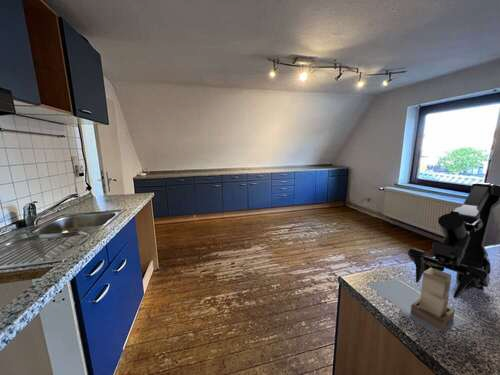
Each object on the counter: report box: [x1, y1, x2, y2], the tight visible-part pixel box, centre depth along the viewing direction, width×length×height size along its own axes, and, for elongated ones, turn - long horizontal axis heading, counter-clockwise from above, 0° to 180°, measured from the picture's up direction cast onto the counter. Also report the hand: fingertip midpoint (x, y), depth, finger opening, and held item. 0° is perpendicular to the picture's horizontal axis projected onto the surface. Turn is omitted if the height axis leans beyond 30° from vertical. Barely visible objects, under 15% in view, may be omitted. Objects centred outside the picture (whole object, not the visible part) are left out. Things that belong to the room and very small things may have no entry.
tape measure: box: [424, 262, 445, 272], centre depth 96 cm, size 7×7×4 cm
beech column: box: [419, 268, 452, 317], centre depth 67 cm, size 5×5×12 cm
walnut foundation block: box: [411, 299, 455, 331], centre depth 68 cm, size 8×8×3 cm
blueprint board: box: [367, 277, 475, 334], centre depth 75 cm, size 16×24×1 cm, turn 14°
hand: (434, 289), depth 67 cm, fingers open, 9 cm apart
